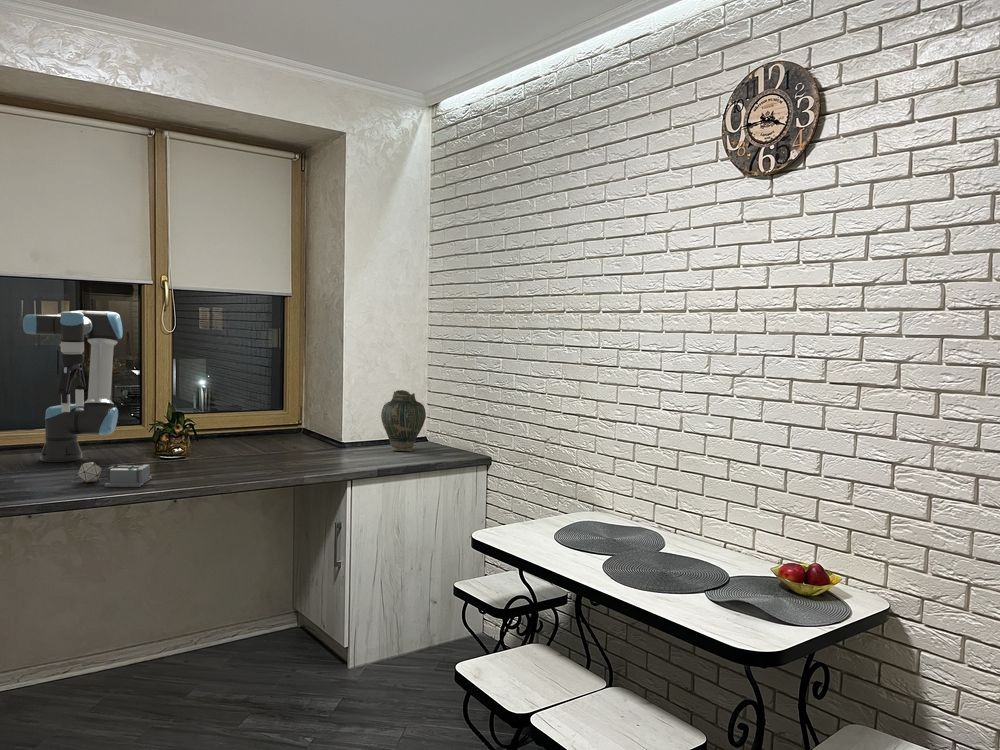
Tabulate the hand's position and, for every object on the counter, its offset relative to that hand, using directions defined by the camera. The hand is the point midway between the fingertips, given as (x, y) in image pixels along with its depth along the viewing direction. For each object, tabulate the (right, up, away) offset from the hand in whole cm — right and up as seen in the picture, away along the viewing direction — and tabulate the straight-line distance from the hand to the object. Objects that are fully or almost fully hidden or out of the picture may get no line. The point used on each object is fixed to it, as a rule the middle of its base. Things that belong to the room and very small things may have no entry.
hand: (72, 409), depth 273 cm
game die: (+9, -27, -5) cm, 29 cm away
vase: (+113, -25, +89) cm, 146 cm away
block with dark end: (+21, -26, -4) cm, 34 cm away
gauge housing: (+23, -27, -3) cm, 36 cm away
